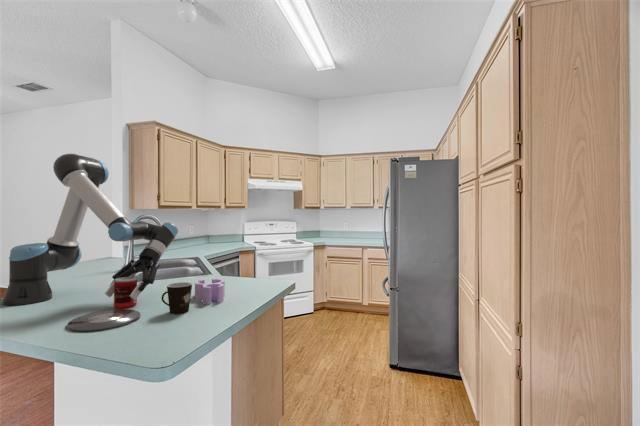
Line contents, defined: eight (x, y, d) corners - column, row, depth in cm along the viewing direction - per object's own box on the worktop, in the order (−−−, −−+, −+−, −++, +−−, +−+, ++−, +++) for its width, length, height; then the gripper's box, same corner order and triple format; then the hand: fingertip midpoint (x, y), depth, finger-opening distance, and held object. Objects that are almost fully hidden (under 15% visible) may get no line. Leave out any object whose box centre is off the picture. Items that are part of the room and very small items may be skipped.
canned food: (132, 302, 127) (132, 275, 127) (140, 306, 122) (140, 278, 122) (110, 306, 121) (111, 278, 121) (117, 310, 116) (118, 281, 116)
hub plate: (51, 327, 98) (51, 323, 98) (111, 309, 117) (111, 306, 117) (98, 335, 92) (98, 331, 92) (153, 315, 111) (153, 311, 111)
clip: (230, 302, 129) (230, 285, 129) (198, 306, 123) (198, 288, 123) (221, 292, 147) (221, 277, 147) (192, 295, 141) (193, 279, 141)
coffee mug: (186, 307, 121) (186, 281, 121) (195, 311, 115) (196, 284, 115) (154, 313, 113) (154, 285, 113) (162, 318, 107) (162, 289, 107)
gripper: (179, 259, 133) (150, 304, 118) (136, 257, 140) (102, 299, 125) (170, 248, 128) (138, 293, 113) (125, 246, 135) (89, 289, 120)
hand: (119, 296), depth 119 cm, fingers open, 12 cm apart
